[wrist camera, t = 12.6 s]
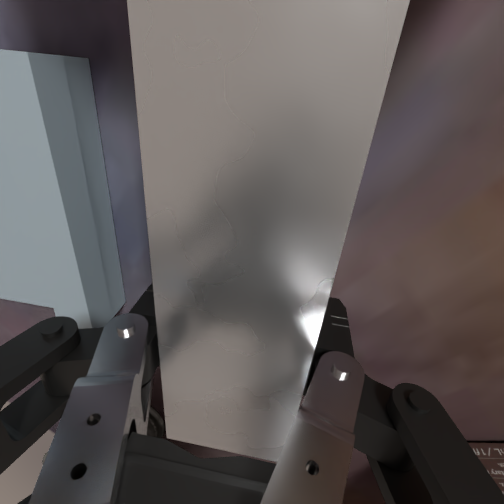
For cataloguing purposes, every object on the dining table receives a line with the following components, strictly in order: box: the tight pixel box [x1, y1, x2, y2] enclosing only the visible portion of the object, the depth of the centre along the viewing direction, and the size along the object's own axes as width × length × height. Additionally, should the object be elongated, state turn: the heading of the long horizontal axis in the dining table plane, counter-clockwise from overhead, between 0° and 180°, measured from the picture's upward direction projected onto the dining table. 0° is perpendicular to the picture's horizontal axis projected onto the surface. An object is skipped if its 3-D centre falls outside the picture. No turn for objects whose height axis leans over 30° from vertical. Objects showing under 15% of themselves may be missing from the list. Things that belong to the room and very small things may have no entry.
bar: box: [127, 0, 410, 462], centre depth 9 cm, size 18×4×4 cm, turn 175°
